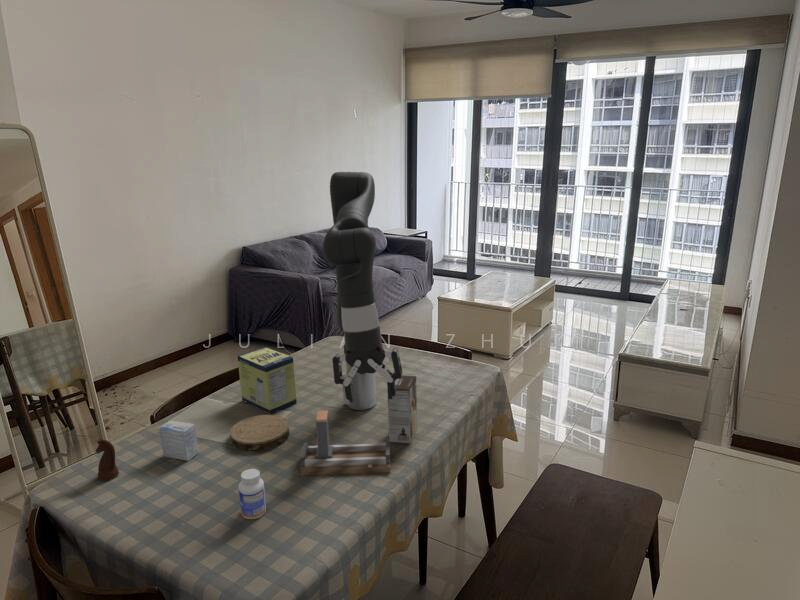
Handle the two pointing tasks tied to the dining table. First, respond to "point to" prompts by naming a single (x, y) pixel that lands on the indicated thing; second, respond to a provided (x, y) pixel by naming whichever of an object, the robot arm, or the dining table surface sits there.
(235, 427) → the brown round disc
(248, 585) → the dining table surface
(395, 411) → the coffee box
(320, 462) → the board
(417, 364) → the dining table surface
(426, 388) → the dining table surface
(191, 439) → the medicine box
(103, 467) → the chess piece
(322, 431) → the fader tab
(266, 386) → the protein box
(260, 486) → the pill bottle
